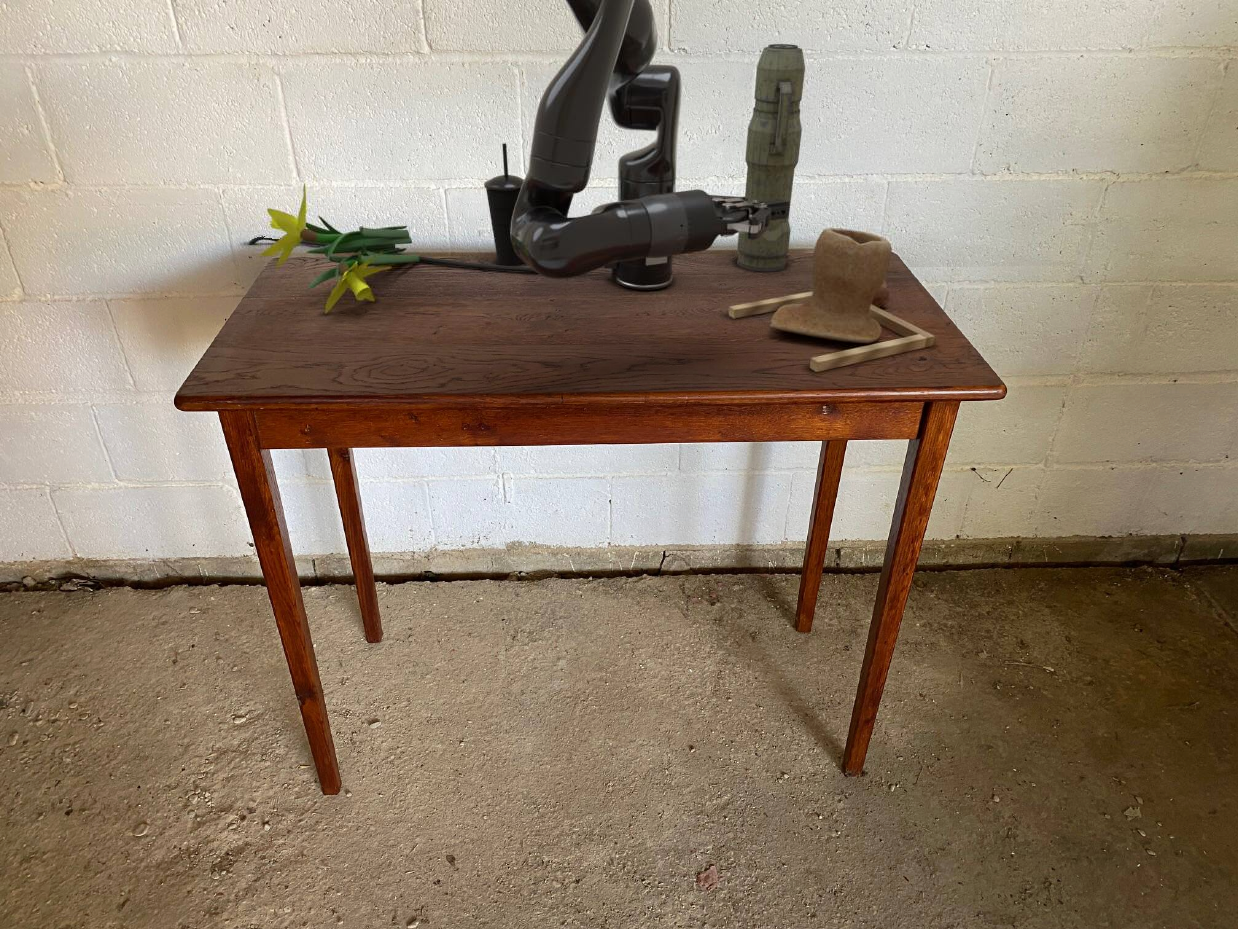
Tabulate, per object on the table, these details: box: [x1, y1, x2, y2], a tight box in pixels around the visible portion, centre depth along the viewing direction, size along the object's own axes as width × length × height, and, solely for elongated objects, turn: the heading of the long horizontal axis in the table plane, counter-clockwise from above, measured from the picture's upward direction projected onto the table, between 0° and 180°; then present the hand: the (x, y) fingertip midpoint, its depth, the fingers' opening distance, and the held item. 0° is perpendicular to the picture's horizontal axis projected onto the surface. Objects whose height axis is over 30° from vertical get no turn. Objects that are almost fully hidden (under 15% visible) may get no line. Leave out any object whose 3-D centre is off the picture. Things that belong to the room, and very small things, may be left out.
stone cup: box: [770, 227, 893, 344], centre depth 119 cm, size 15×12×15 cm
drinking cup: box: [483, 142, 525, 266], centre depth 144 cm, size 8×8×20 cm
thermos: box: [736, 43, 806, 273], centre depth 140 cm, size 9×12×35 cm
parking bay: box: [728, 290, 935, 373], centre depth 124 cm, size 20×22×2 cm
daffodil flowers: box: [259, 182, 422, 315], centre depth 132 cm, size 17×15×35 cm
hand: (785, 208), depth 110 cm, fingers closed
